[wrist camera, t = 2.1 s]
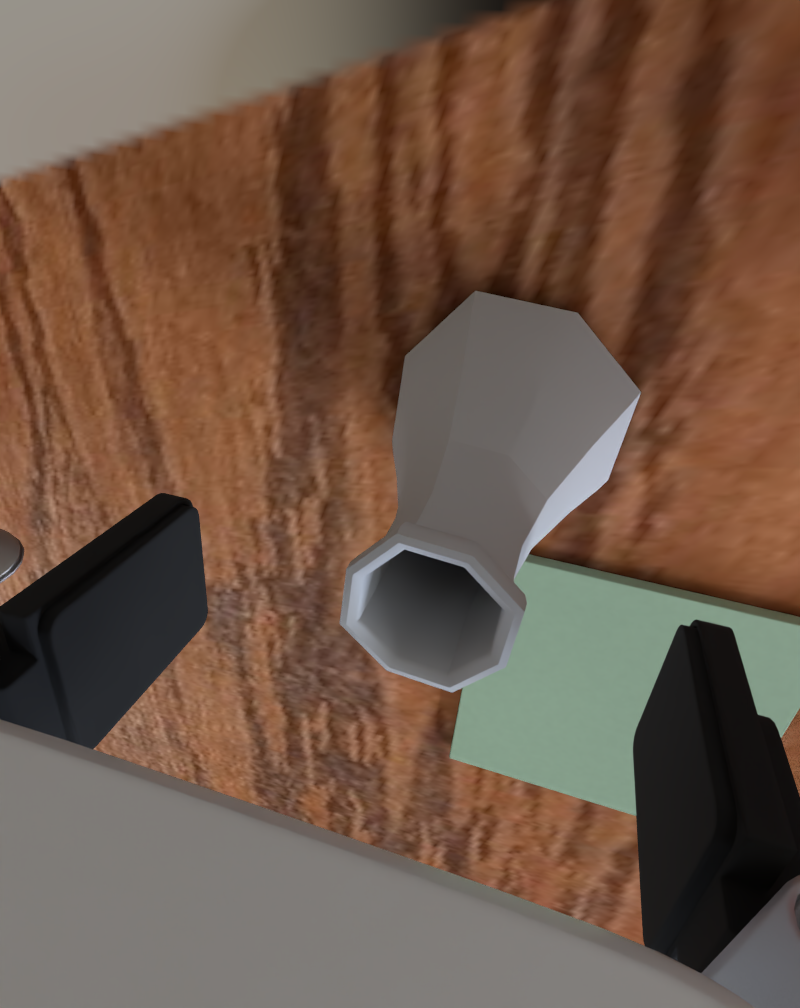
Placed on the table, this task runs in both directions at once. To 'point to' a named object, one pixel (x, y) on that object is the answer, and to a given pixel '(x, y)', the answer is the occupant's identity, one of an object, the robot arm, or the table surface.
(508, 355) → the flask
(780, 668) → the coaster
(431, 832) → the table surface
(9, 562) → the spaceship
